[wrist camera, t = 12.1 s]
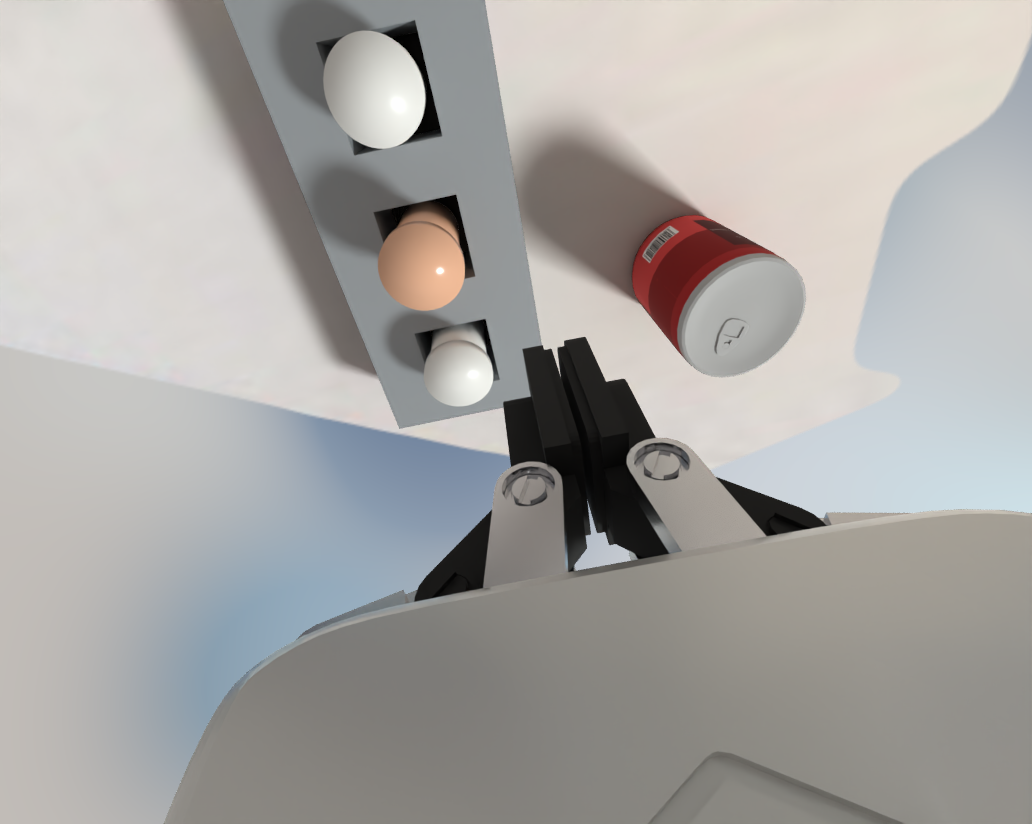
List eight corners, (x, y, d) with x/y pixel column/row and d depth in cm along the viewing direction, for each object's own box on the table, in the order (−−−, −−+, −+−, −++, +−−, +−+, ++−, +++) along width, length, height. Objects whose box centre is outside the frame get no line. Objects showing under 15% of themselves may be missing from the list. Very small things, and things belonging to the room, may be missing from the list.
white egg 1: (342, 51, 27) (306, 42, 21) (419, 34, 27) (407, 19, 21) (370, 141, 30) (345, 157, 24) (441, 125, 30) (435, 138, 24)
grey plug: (422, 306, 37) (414, 355, 30) (480, 294, 37) (485, 340, 30) (438, 357, 39) (434, 412, 33) (492, 346, 39) (499, 399, 33)
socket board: (263, 7, 27) (219, -9, 22) (471, -40, 26) (473, -68, 21) (406, 388, 42) (399, 428, 37) (539, 360, 41) (550, 397, 37)
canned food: (623, 314, 40) (670, 382, 31) (635, 213, 35) (696, 259, 26) (711, 309, 40) (783, 375, 31) (734, 210, 36) (827, 253, 27)
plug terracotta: (385, 203, 31) (364, 236, 24) (454, 188, 31) (452, 217, 24) (407, 271, 33) (394, 317, 27) (470, 258, 33) (473, 301, 27)
